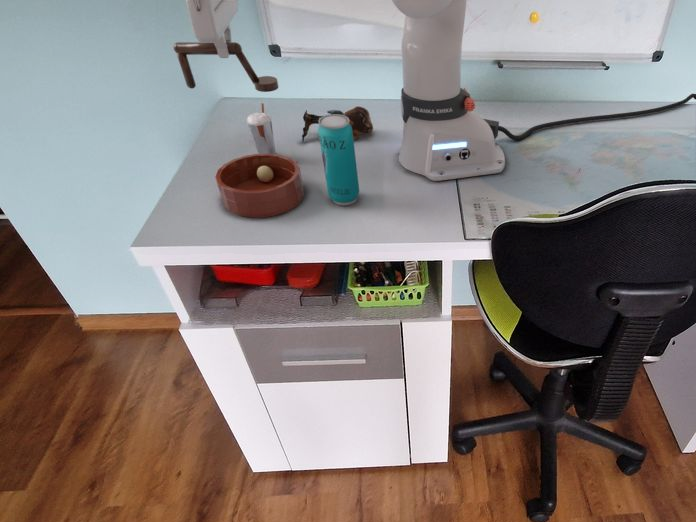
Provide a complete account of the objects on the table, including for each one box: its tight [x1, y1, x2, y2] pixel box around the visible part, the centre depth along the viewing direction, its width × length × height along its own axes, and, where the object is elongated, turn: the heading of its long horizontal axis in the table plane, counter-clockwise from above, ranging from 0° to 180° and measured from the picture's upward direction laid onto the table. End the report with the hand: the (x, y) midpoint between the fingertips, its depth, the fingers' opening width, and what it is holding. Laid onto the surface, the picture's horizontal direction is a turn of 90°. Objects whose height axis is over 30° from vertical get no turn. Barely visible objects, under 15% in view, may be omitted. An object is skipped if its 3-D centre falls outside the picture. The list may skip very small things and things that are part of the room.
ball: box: [257, 166, 273, 182], centre depth 103 cm, size 3×3×3 cm
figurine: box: [301, 106, 374, 143], centre depth 119 cm, size 8×16×6 cm, turn 98°
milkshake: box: [246, 102, 277, 154], centre depth 109 cm, size 4×5×10 cm
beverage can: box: [317, 114, 360, 207], centre depth 96 cm, size 6×6×15 cm
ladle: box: [173, 41, 279, 93], centre depth 102 cm, size 17×4×8 cm, turn 97°
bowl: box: [214, 153, 305, 219], centre depth 100 cm, size 15×15×5 cm
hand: (226, 53), depth 100 cm, fingers closed on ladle, 2 cm apart
